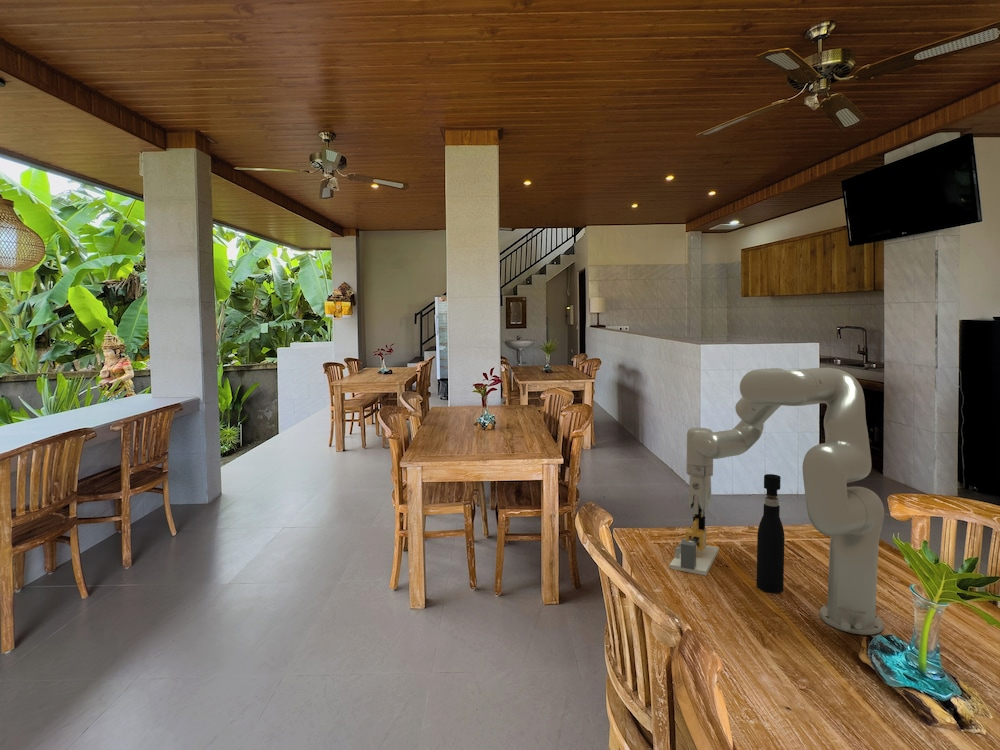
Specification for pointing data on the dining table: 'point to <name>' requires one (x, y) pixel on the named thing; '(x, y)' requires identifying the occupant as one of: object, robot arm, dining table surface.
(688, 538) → the sleeve
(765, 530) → the black water bottle
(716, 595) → the dining table surface
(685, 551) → the linear slide rail
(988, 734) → the dining table surface
